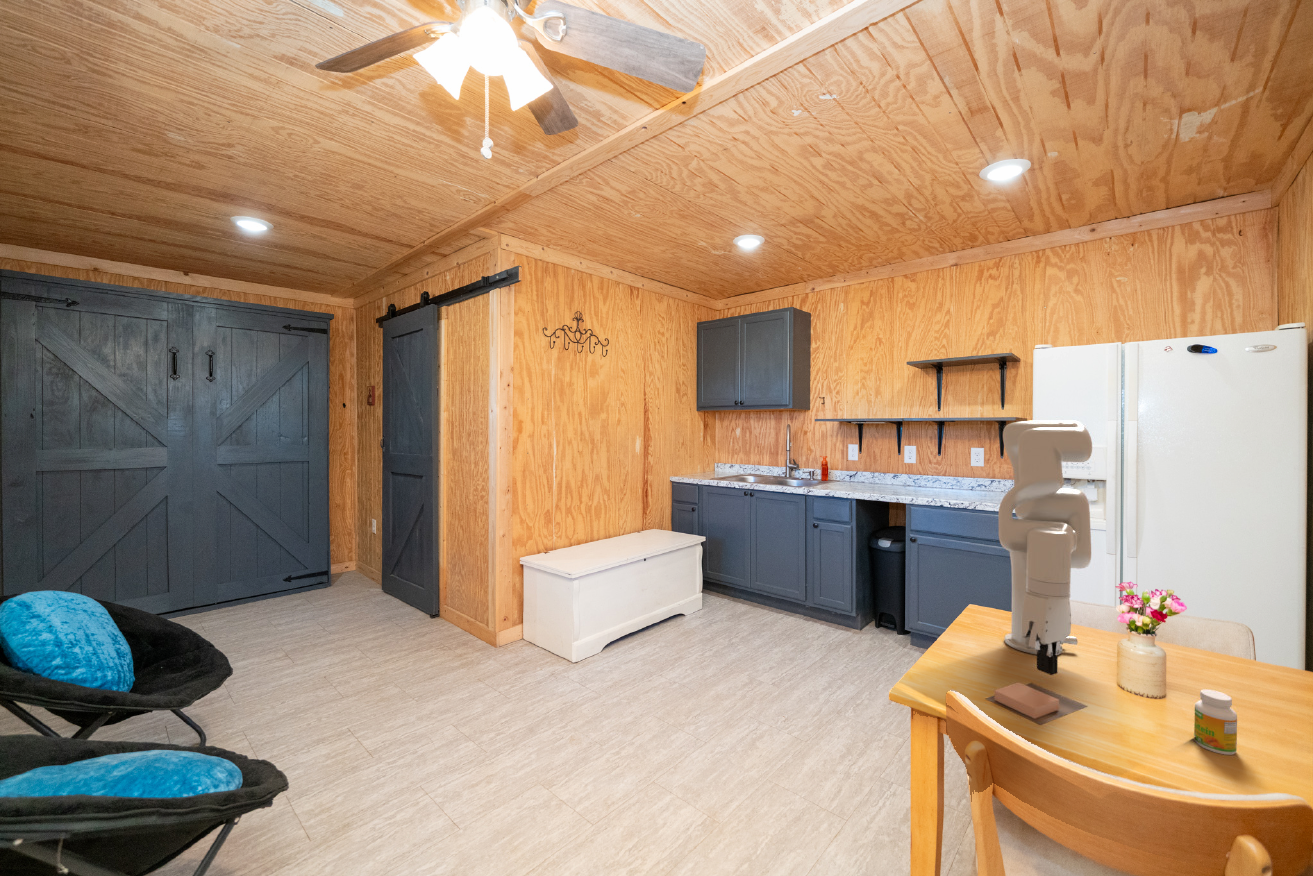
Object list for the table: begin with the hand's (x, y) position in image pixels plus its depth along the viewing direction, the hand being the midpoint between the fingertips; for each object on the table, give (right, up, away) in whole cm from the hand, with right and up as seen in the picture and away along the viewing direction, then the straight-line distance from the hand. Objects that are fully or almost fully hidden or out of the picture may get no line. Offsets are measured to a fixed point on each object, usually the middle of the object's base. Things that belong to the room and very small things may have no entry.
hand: (1046, 671), depth 113 cm
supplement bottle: (+19, -7, -16) cm, 26 cm away
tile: (-3, -4, -2) cm, 6 cm away
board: (-4, -7, -2) cm, 8 cm away
